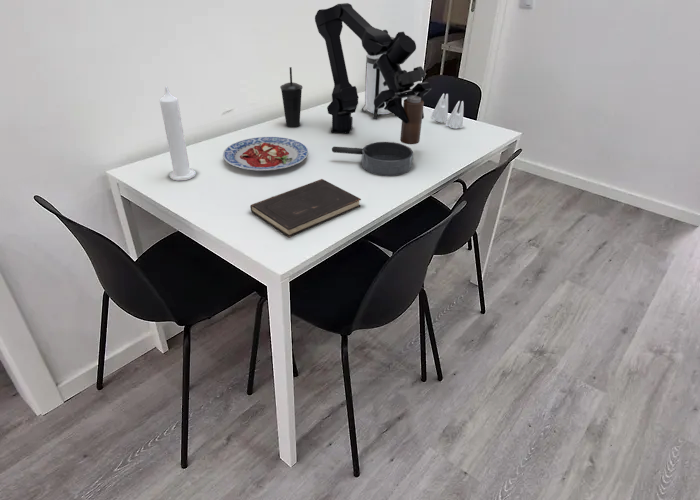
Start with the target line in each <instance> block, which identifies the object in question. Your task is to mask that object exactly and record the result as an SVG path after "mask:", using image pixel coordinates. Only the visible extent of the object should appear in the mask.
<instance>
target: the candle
mask: <svg viewBox="0 0 700 500" xmlns="http://www.w3.org/2000/svg"><path fill="white" fill-rule="evenodd" d="M159 105H160V110H161V114H162V121H163V126H164V131H165V135H166V140H167V145H168V146H167V147H168V150H169V157H170V160H171V165H172V169H173V170H171V171H170V172H169V178H170V180H173V181H177V182H178V181H188V180H191V179H193V178H194V177H195V176H196V170H195V169H193V168H191V167H190V160H189V155H188V149H187V144H186V139H185V132H184V126H183V121H182V116H181V111H180V104H179V99H178V97H177V96H174V95H173V94H172V93H171V92H170V90H169V87H168V86H167V85H166V86H164V95H163V96H161V97H160V99H159Z"/></svg>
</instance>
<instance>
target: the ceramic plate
mask: <svg viewBox="0 0 700 500" xmlns="http://www.w3.org/2000/svg"><path fill="white" fill-rule="evenodd" d="M308 155H309V150H308V147H307V146H306V145H305V144H303V143H302V142H301V141H298V140H295V139H292V138H288V137H280V136H258V137H251V138H246V139H241V140H239V141H236V142H233V143H232V144H230V145H228V146H227V147H226V148H225V149H224V150H223V151H222V159H223V160H224V161H225V162H226V163H227V164H229V165H231V166H232V167H235V168H238V169H243V170H248V171H261V172H265V171H275V170H281V169H286V168H290V167H293V166H295V165H298V164H300V163H301V162H303V161H304V160H305V159H307V157H308Z"/></svg>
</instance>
